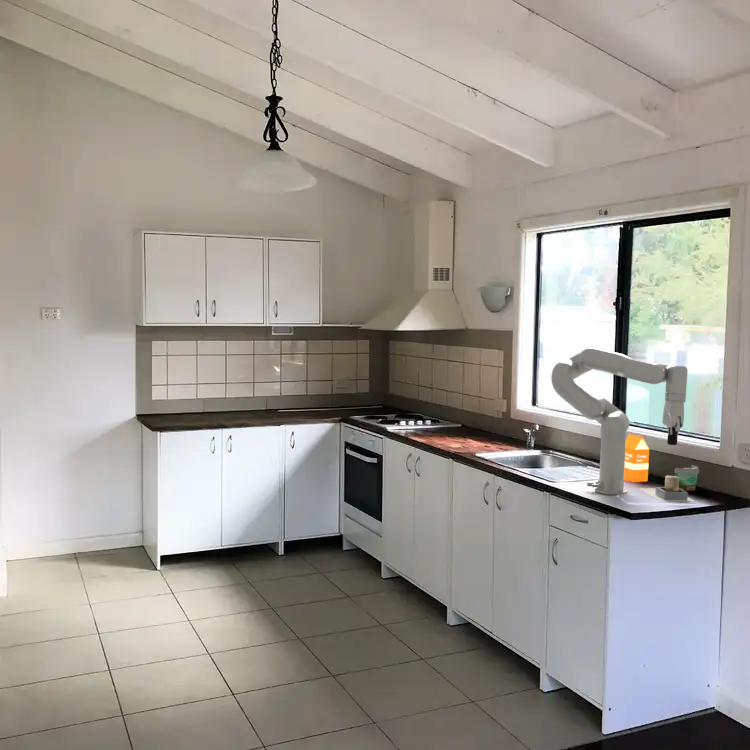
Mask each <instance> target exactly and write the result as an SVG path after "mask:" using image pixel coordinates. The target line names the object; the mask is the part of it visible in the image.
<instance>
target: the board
mask: <svg viewBox="0 0 750 750" xmlns="http://www.w3.org/2000/svg"><path fill="white" fill-rule="evenodd" d="M638 489H639V490H641V491H642V492H644V493H645V494H647V495H649V496H651V497H652V498H653V499H656V500H657V501H660V502H695V500H694V499H692V498H691V497H689V496H688V497H687V500H664V499H662V498H660V497H659V496H657V495H655V491H656V487H655V488H652V487H649V488H648V487H639V488H638Z"/></svg>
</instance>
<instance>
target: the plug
mask: <svg viewBox="0 0 750 750" xmlns="http://www.w3.org/2000/svg"><path fill="white" fill-rule="evenodd" d="M664 477H665V479H664V487H665V491H666V492H678V489H679V477H677V476H675V475H666V476H664Z"/></svg>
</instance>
